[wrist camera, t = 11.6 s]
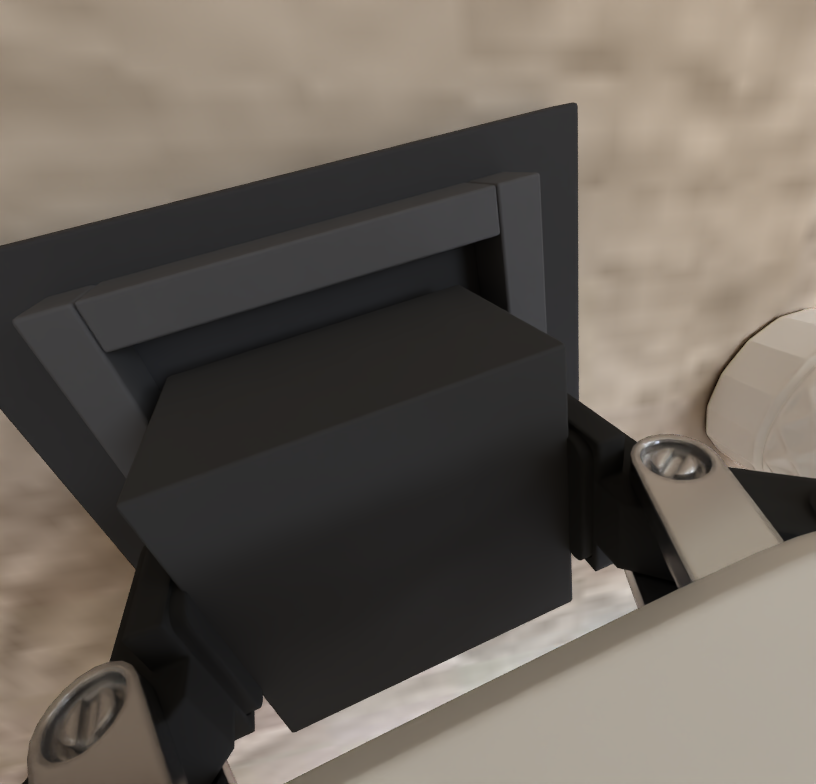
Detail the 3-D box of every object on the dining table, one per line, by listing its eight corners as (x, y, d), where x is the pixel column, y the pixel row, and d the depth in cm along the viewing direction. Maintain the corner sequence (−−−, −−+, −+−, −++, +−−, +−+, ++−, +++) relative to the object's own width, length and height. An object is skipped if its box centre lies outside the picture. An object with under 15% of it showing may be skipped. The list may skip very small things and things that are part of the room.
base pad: (200, 616, 15) (191, 693, 12) (-78, 265, 8) (-189, 298, 6) (563, 468, 17) (608, 511, 15) (553, 105, 11) (627, 91, 9)
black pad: (280, 575, 12) (292, 735, 9) (165, 376, 9) (111, 507, 5) (490, 489, 13) (573, 601, 10) (459, 283, 10) (568, 342, 6)
